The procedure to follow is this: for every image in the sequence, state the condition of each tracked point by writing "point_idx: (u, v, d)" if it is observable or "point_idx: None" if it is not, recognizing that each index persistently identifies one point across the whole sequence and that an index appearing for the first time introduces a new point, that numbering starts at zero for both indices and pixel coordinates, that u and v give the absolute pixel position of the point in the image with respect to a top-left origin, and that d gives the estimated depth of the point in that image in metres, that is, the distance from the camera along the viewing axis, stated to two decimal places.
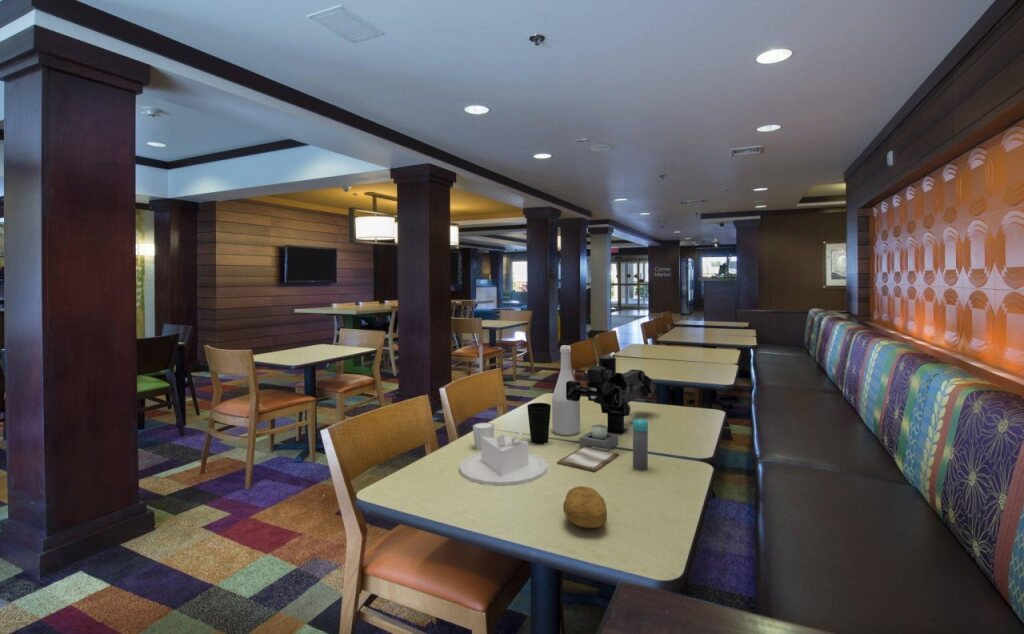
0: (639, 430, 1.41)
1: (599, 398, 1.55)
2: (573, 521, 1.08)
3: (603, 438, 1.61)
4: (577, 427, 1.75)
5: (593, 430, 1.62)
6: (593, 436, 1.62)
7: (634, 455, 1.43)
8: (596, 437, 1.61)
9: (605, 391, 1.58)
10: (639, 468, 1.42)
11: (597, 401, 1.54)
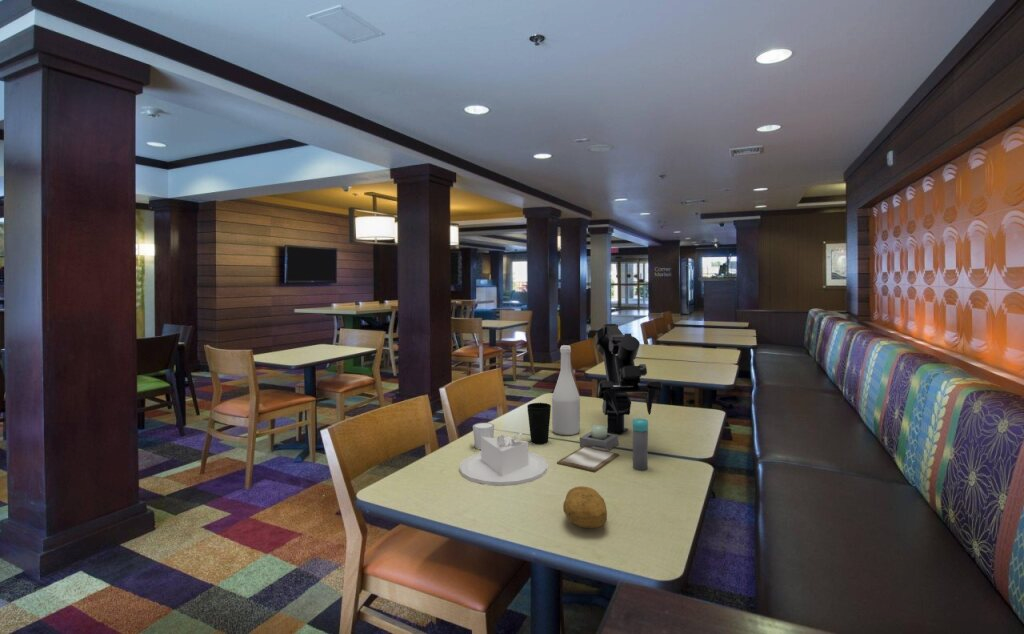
0: (639, 430, 1.41)
1: (651, 407, 1.51)
2: (573, 521, 1.08)
3: (603, 438, 1.61)
4: (577, 427, 1.75)
5: (593, 430, 1.62)
6: (593, 436, 1.62)
7: (634, 455, 1.43)
8: (596, 437, 1.61)
9: (650, 394, 1.53)
10: (639, 468, 1.42)
11: (650, 411, 1.51)
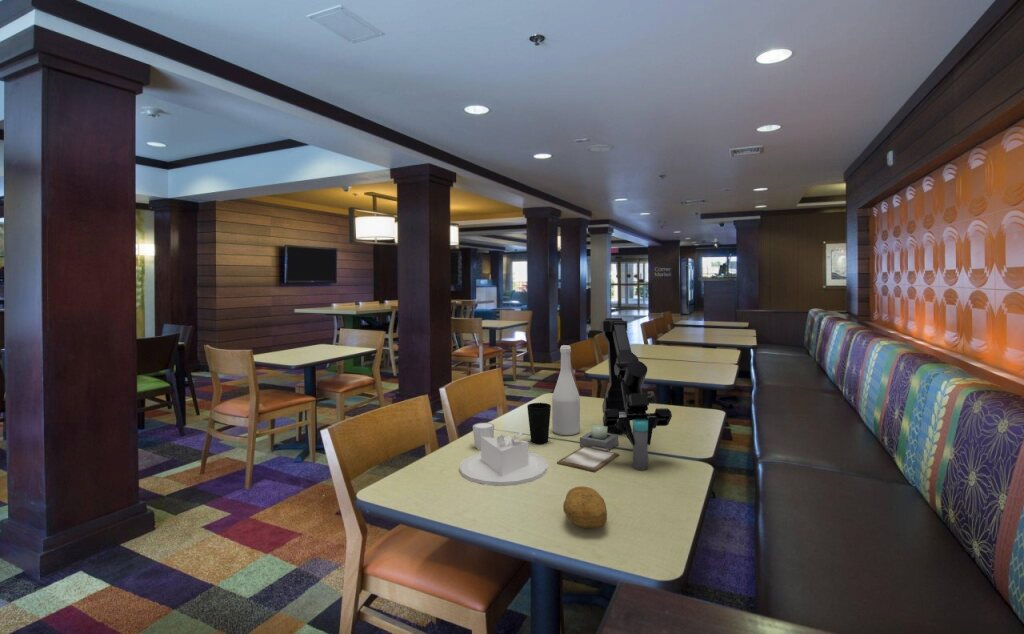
0: (639, 430, 1.41)
1: None
2: (573, 521, 1.08)
3: (603, 438, 1.61)
4: (577, 427, 1.75)
5: (593, 430, 1.62)
6: (593, 436, 1.62)
7: (634, 455, 1.43)
8: (596, 437, 1.61)
9: (650, 423, 1.44)
10: (639, 468, 1.42)
11: None
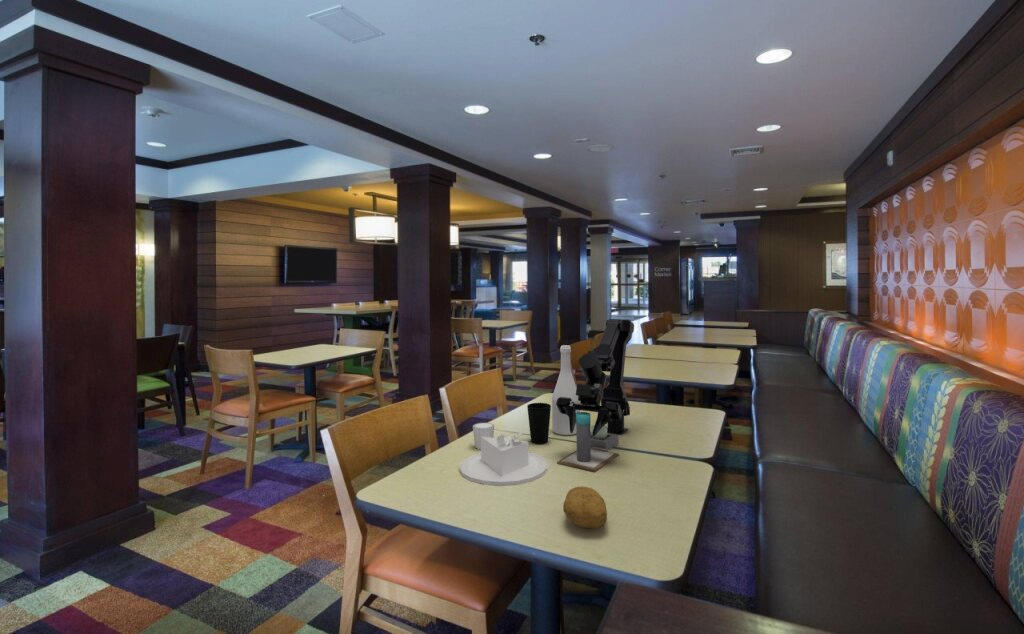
0: (578, 423, 1.46)
1: (597, 429, 1.46)
2: (573, 521, 1.08)
3: (603, 438, 1.61)
4: None
5: None
6: (593, 436, 1.62)
7: None
8: (596, 437, 1.61)
9: (599, 415, 1.47)
10: (579, 459, 1.47)
11: (596, 433, 1.46)
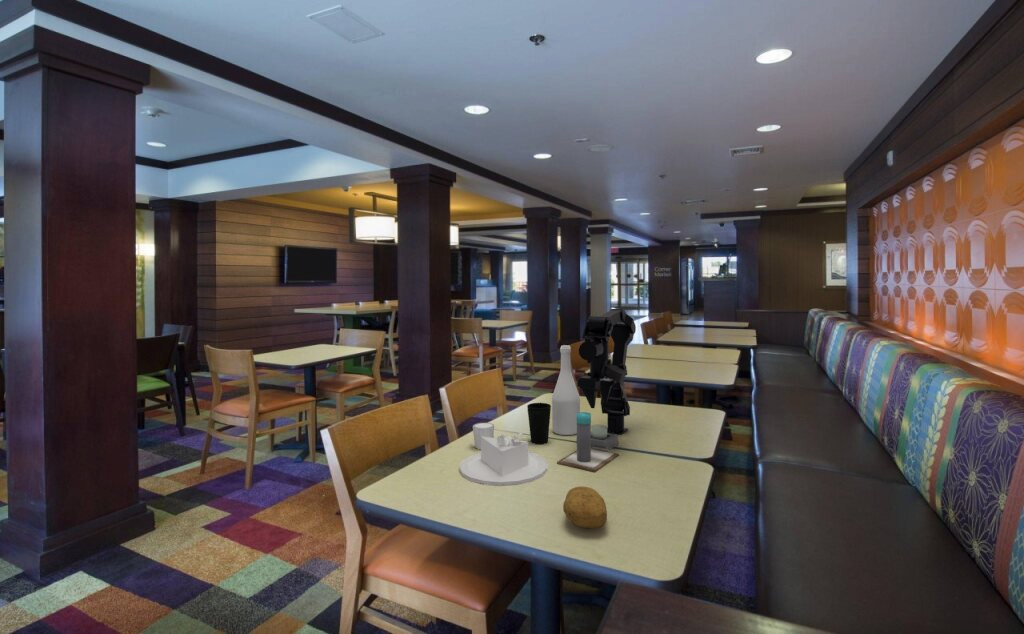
0: (579, 423, 1.46)
1: None
2: (573, 521, 1.08)
3: (603, 438, 1.61)
4: None
5: (593, 430, 1.62)
6: (593, 436, 1.62)
7: None
8: (596, 437, 1.61)
9: (611, 385, 1.65)
10: (579, 459, 1.47)
11: None
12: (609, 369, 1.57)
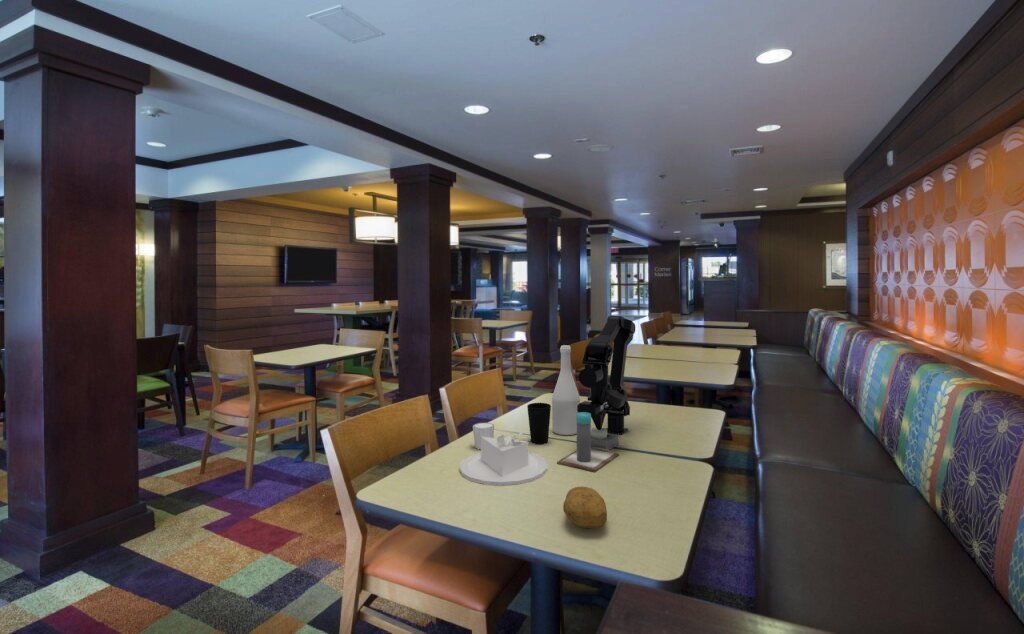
0: (579, 423, 1.46)
1: None
2: (573, 521, 1.08)
3: None
4: None
5: (593, 433, 1.62)
6: None
7: None
8: None
9: (606, 412, 1.62)
10: (579, 459, 1.47)
11: None
12: (609, 394, 1.57)
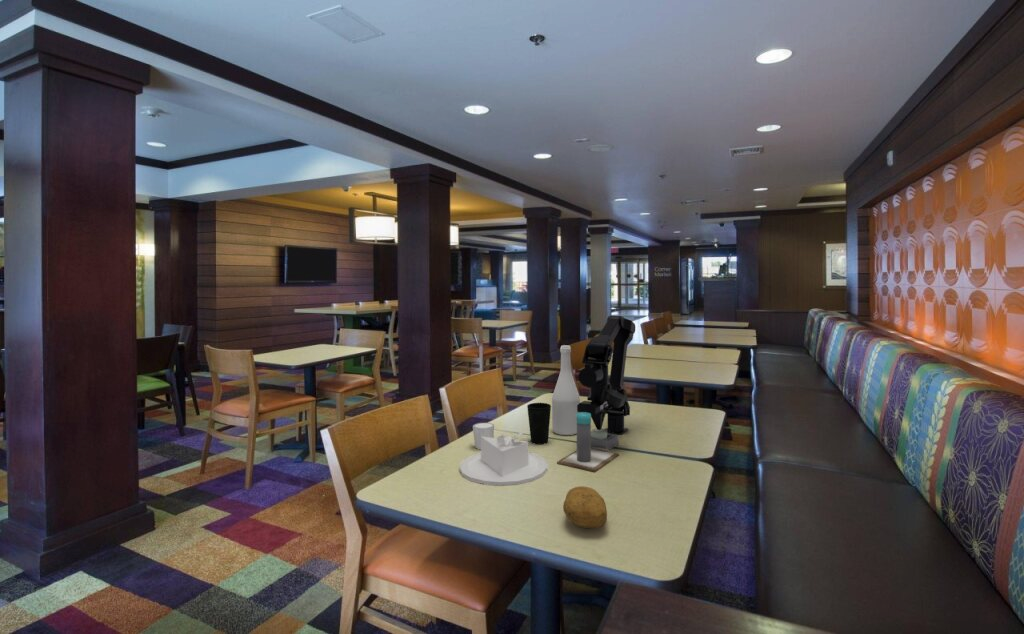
0: (579, 423, 1.46)
1: None
2: (573, 521, 1.08)
3: None
4: None
5: (593, 434, 1.62)
6: None
7: None
8: None
9: (605, 412, 1.62)
10: (579, 459, 1.47)
11: None
12: (609, 394, 1.57)
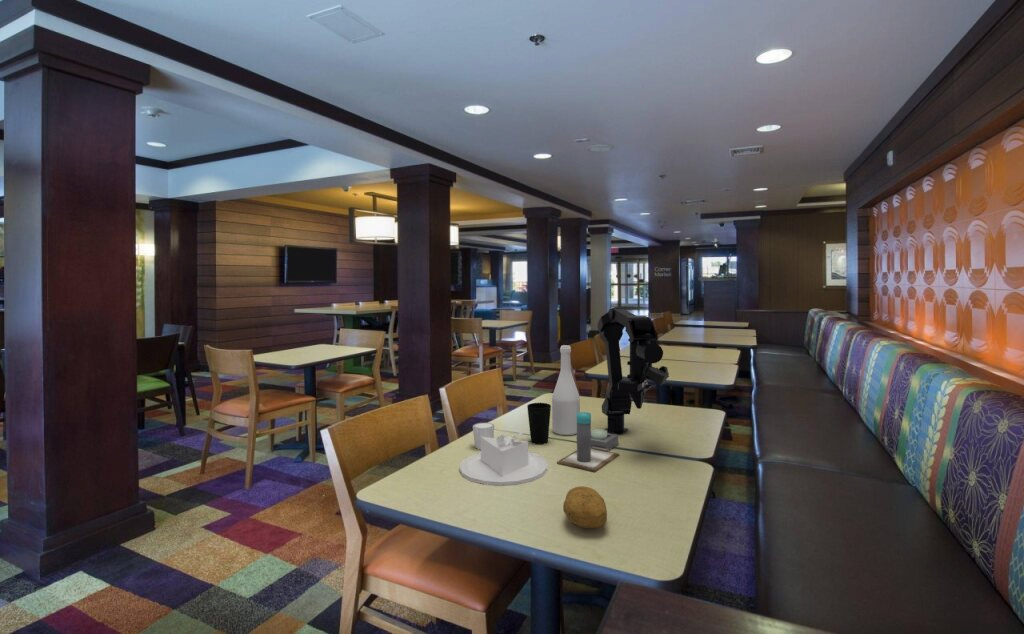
0: (579, 422, 1.46)
1: None
2: (573, 521, 1.08)
3: None
4: None
5: (593, 434, 1.62)
6: None
7: None
8: None
9: (646, 390, 1.57)
10: (579, 459, 1.47)
11: None
12: (651, 371, 1.52)
